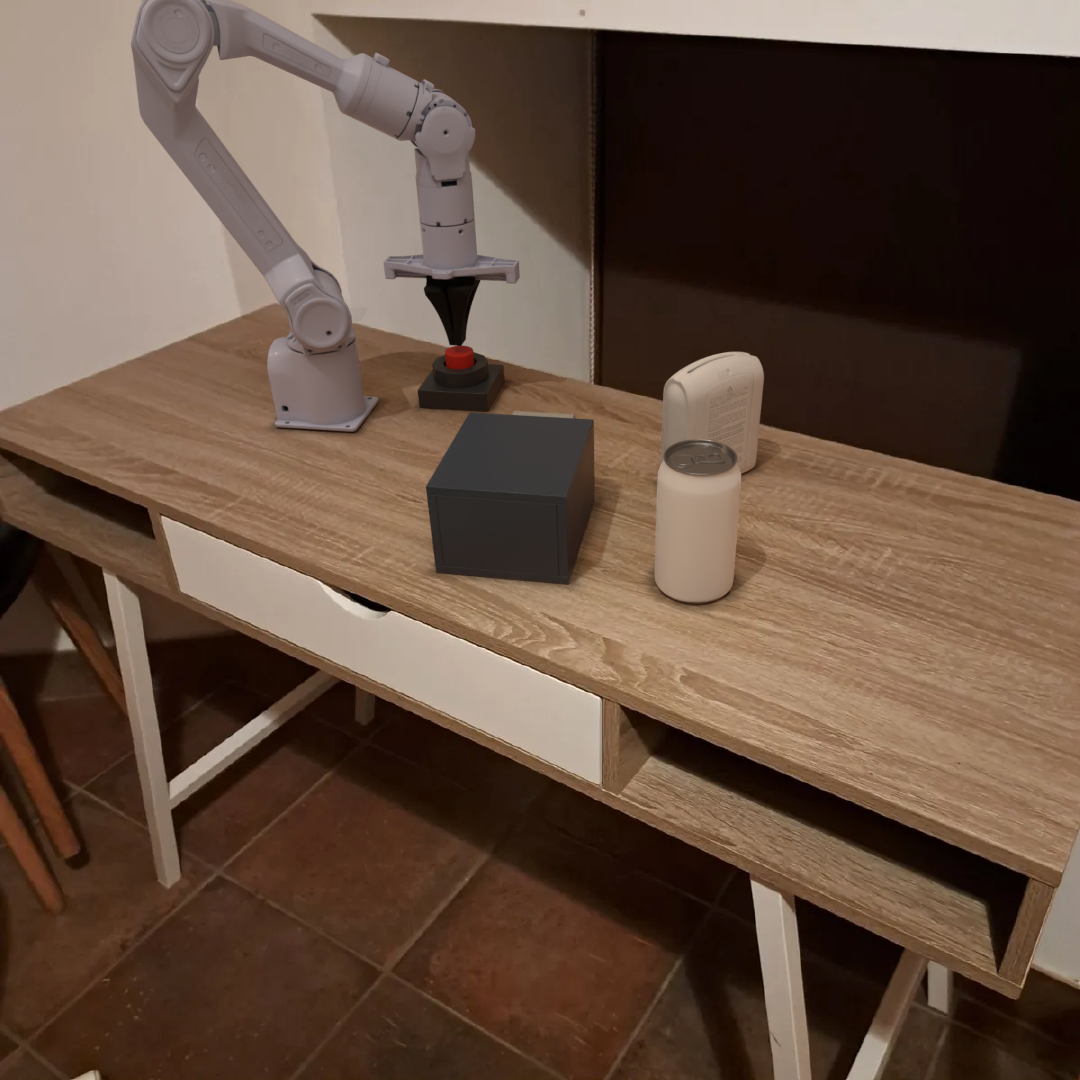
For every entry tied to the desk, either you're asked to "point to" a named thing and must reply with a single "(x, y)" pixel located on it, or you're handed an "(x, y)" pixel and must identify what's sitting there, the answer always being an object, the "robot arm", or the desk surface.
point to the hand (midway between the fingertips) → (457, 342)
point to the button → (459, 357)
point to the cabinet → (513, 497)
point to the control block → (461, 385)
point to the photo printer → (716, 404)
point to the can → (697, 520)
